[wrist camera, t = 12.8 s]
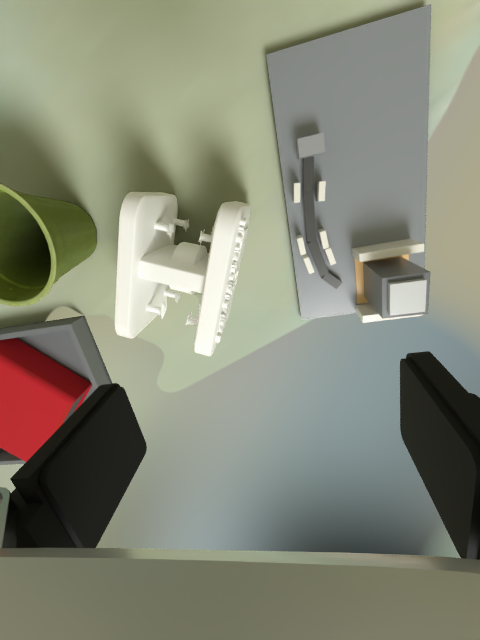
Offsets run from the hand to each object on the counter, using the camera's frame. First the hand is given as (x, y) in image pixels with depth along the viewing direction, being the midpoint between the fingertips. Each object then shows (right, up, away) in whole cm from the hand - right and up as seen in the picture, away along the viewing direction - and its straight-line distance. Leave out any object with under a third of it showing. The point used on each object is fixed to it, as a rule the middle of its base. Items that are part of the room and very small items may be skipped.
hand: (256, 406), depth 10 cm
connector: (+16, +8, +24) cm, 30 cm away
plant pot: (-22, +14, +28) cm, 39 cm away
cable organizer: (-5, +11, +28) cm, 30 cm away
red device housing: (-34, -9, +40) cm, 53 cm away
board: (+11, +17, +22) cm, 30 cm away
